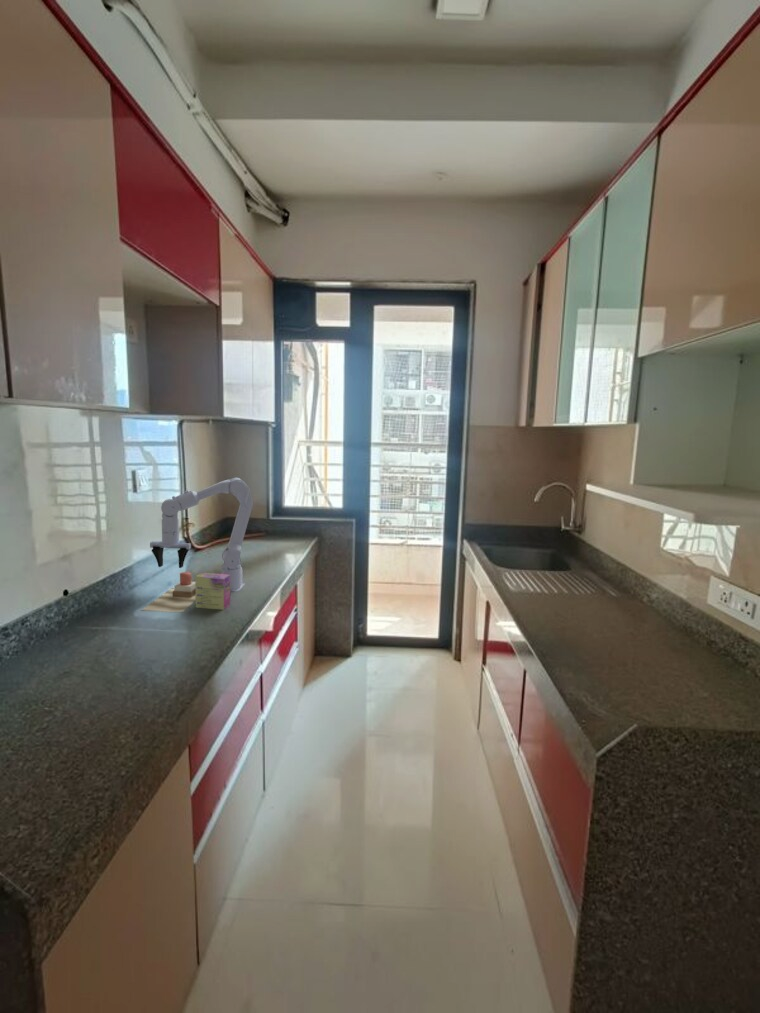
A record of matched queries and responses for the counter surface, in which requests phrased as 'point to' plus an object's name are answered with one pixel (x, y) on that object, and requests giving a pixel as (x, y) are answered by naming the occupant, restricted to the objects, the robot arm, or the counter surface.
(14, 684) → the counter surface
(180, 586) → the top block
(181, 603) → the board
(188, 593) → the bottom block
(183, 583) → the cylinder
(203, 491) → the robot arm
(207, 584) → the box
